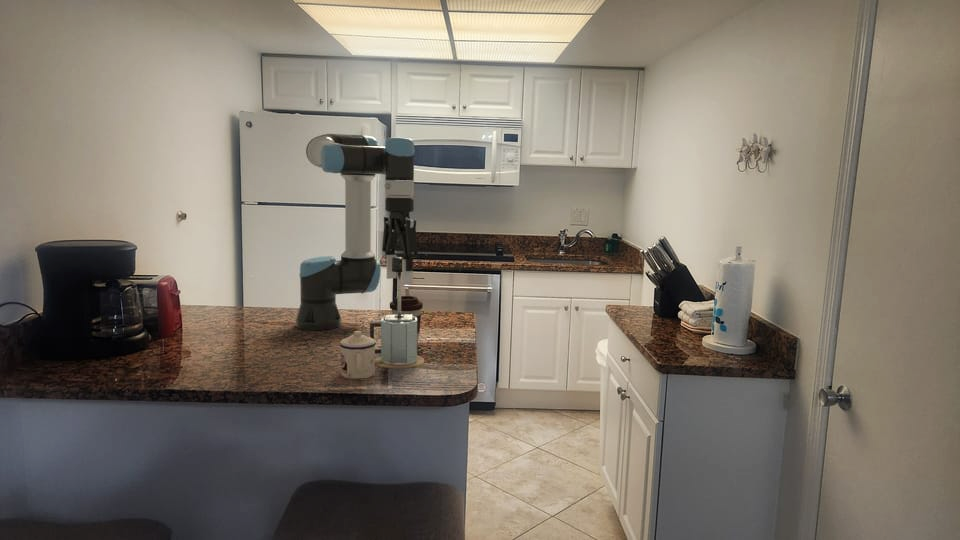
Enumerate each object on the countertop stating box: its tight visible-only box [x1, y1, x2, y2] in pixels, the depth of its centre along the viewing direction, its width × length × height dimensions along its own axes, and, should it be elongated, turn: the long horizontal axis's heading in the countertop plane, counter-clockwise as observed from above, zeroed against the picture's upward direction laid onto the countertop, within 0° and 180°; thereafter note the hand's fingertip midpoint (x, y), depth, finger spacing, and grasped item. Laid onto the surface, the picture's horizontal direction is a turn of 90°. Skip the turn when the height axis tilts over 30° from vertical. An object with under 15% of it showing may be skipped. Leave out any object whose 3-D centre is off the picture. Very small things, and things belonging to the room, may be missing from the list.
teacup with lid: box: [339, 330, 377, 379], centre depth 155 cm, size 12×9×12 cm
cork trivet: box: [375, 354, 425, 369], centre depth 168 cm, size 14×14×1 cm
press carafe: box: [369, 314, 418, 366], centre depth 167 cm, size 10×13×12 cm
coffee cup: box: [389, 295, 424, 346], centre depth 184 cm, size 10×10×15 cm
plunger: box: [391, 256, 407, 323], centre depth 165 cm, size 8×8×19 cm
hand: (399, 280), depth 165 cm, fingers open, 8 cm apart
